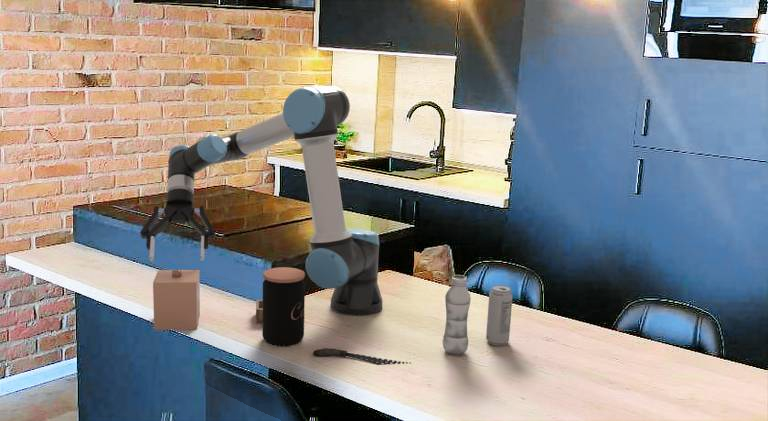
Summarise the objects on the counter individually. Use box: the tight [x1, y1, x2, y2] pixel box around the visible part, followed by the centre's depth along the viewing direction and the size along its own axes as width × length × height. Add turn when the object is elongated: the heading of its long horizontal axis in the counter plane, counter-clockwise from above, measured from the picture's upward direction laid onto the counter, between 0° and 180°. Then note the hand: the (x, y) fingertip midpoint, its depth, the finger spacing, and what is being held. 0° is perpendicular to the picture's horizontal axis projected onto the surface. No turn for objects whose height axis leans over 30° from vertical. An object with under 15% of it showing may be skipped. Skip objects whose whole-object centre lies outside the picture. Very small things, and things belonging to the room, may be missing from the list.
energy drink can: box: [485, 284, 513, 347], centre depth 210 cm, size 6×6×15 cm
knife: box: [312, 347, 411, 366], centre depth 196 cm, size 28×2×5 cm
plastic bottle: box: [442, 274, 472, 356], centre depth 202 cm, size 6×7×20 cm
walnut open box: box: [255, 299, 263, 324], centre depth 222 cm, size 10×8×4 cm
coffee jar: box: [261, 266, 306, 347], centre depth 206 cm, size 11×11×18 cm
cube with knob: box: [152, 268, 201, 331], centre depth 215 cm, size 11×11×15 cm
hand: (176, 258), depth 220 cm, fingers open, 13 cm apart
